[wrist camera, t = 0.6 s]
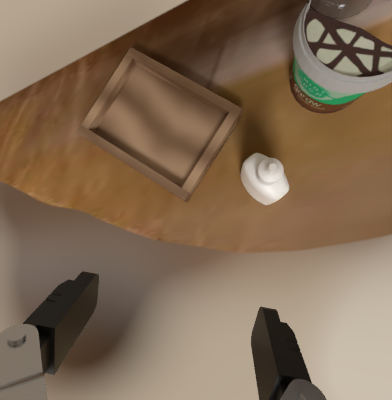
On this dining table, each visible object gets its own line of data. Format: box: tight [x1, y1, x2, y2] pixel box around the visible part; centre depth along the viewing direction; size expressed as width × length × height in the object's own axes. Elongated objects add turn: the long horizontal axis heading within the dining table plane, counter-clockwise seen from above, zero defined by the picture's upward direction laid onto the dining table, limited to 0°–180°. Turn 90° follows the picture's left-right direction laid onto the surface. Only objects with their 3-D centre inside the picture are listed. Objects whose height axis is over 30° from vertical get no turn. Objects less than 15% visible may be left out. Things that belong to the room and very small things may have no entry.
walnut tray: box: [77, 47, 242, 202], centre depth 37 cm, size 14×18×2 cm
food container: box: [290, 0, 392, 113], centre depth 31 cm, size 12×6×10 cm, turn 58°
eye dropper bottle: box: [240, 153, 289, 205], centre depth 30 cm, size 4×6×12 cm
